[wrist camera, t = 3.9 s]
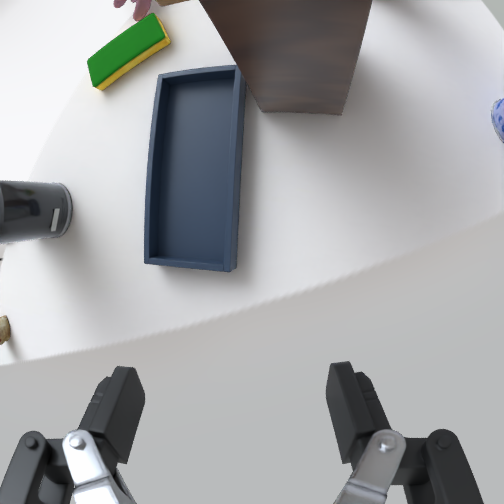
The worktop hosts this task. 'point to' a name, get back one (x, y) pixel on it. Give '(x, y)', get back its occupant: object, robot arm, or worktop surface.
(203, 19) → the worktop surface
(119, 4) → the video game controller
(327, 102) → the stand
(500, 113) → the aerosol can
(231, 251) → the tray
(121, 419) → the robot arm
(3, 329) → the chocolate bunny
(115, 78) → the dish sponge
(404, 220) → the worktop surface
